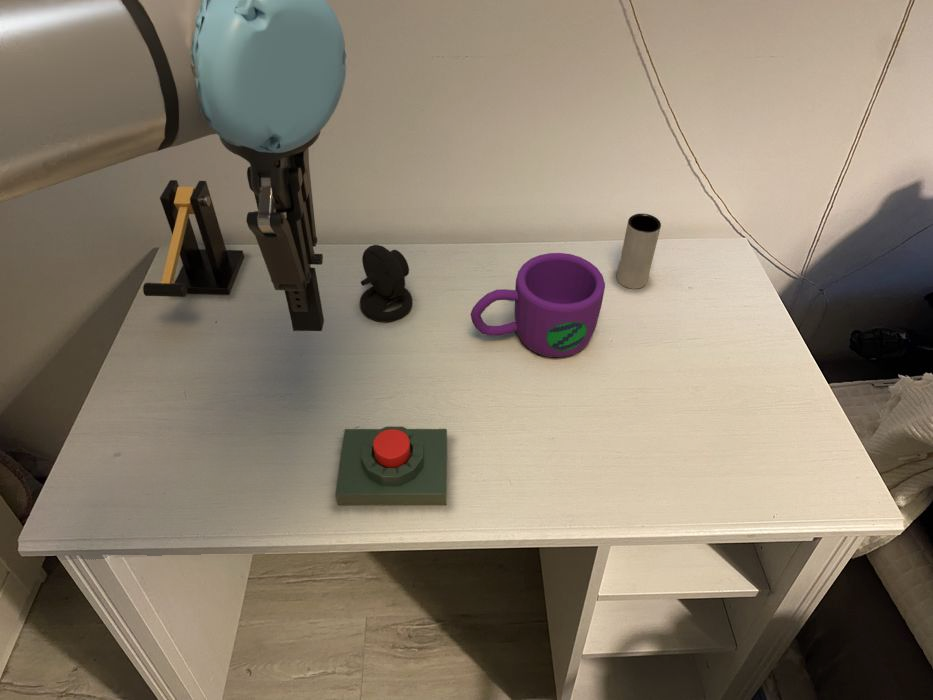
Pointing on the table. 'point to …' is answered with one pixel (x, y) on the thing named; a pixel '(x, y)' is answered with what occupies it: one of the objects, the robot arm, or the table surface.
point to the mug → (550, 304)
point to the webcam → (384, 283)
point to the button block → (393, 470)
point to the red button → (391, 448)
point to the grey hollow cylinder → (638, 250)
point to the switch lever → (174, 249)
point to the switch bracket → (214, 263)
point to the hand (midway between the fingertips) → (308, 325)
